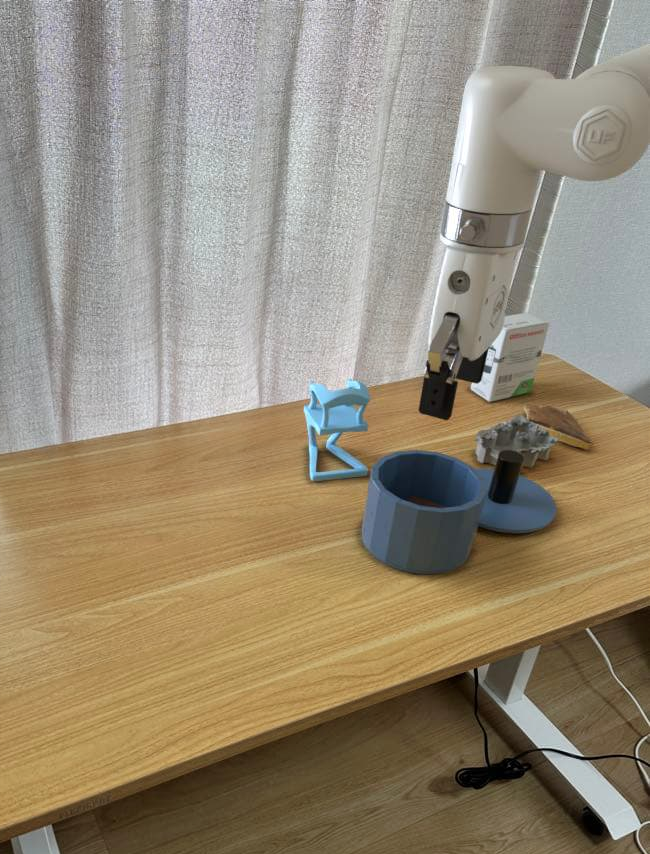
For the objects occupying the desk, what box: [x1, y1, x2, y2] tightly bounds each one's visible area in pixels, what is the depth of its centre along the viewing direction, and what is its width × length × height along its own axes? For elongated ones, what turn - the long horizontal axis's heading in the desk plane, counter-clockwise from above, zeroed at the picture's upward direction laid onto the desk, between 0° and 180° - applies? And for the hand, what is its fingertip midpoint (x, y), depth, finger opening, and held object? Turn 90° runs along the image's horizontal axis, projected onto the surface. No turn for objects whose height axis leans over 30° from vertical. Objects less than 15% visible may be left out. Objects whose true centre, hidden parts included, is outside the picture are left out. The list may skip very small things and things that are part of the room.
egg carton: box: [474, 413, 559, 470], centre depth 110 cm, size 11×8×4 cm
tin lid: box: [475, 450, 557, 534], centre depth 99 cm, size 14×14×7 cm
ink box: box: [470, 311, 550, 403], centre depth 123 cm, size 9×5×12 cm, turn 116°
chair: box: [303, 378, 371, 482], centre depth 104 cm, size 8×8×12 cm
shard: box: [523, 404, 594, 451], centre depth 116 cm, size 11×8×2 cm
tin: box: [361, 449, 487, 575], centre depth 92 cm, size 13×13×8 cm
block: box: [408, 496, 445, 508], centre depth 93 cm, size 4×4×4 cm
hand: (450, 397), depth 83 cm, fingers open, 9 cm apart
